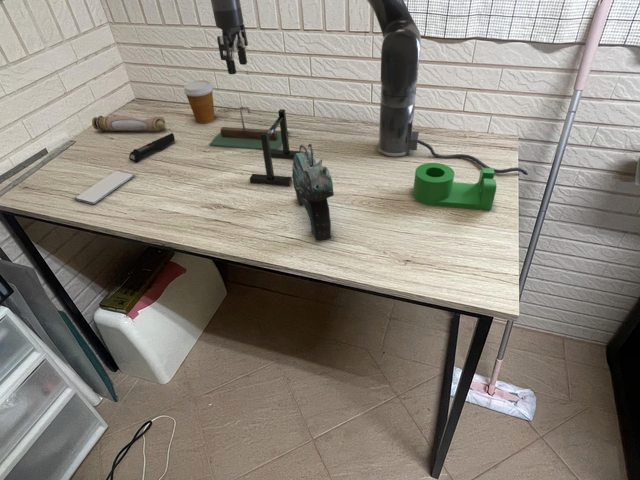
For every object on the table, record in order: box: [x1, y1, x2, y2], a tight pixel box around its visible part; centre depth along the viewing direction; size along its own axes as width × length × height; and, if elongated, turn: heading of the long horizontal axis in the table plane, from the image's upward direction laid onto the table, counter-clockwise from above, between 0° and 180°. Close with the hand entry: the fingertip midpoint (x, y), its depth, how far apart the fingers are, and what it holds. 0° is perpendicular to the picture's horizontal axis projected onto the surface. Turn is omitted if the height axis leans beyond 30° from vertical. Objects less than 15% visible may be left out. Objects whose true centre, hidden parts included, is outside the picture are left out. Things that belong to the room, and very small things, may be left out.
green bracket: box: [412, 162, 497, 211], centre depth 102 cm, size 18×9×6 cm, turn 78°
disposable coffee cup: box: [183, 79, 216, 124], centre depth 143 cm, size 10×10×12 cm
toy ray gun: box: [291, 143, 335, 242], centre depth 93 cm, size 20×6×20 cm, turn 17°
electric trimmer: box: [128, 132, 175, 163], centre depth 130 cm, size 4×16×3 cm, turn 143°
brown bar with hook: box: [219, 106, 278, 141], centre depth 130 cm, size 18×2×10 cm, turn 76°
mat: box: [208, 130, 290, 151], centre depth 133 cm, size 22×12×1 cm, turn 76°
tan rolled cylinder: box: [91, 115, 166, 132], centre depth 141 cm, size 6×25×5 cm, turn 82°
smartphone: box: [74, 170, 135, 205], centre depth 115 cm, size 7×1×15 cm
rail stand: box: [249, 108, 305, 188], centre depth 114 cm, size 16×11×14 cm
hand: (238, 68), depth 123 cm, fingers open, 8 cm apart
